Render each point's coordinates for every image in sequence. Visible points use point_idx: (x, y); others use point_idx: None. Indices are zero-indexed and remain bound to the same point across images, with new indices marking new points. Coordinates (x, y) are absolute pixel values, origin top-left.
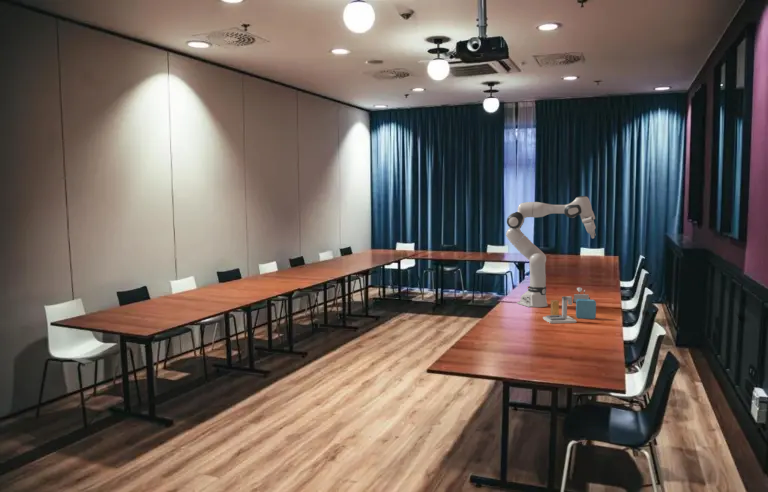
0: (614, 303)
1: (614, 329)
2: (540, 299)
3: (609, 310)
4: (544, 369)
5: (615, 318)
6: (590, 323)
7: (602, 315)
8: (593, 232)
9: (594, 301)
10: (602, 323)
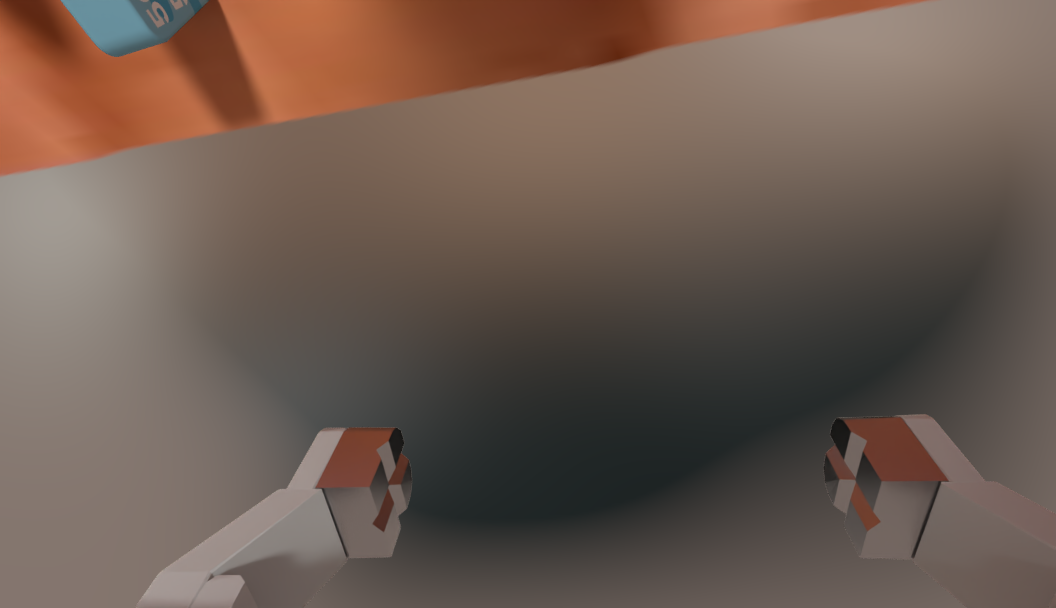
0: (810, 20)
1: (19, 161)
2: None
3: (526, 37)
4: None
5: (296, 117)
6: (13, 5)
7: (326, 26)
8: (987, 569)
9: (102, 49)
10: (92, 76)
